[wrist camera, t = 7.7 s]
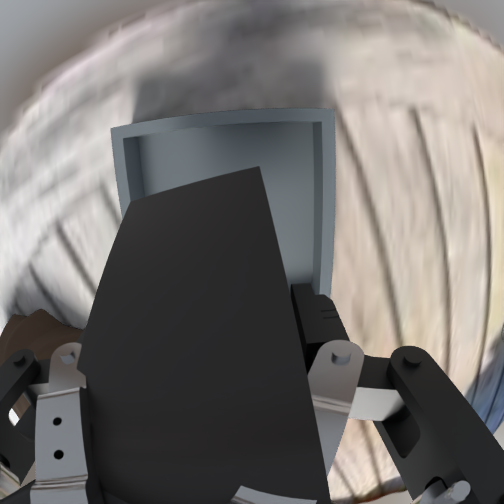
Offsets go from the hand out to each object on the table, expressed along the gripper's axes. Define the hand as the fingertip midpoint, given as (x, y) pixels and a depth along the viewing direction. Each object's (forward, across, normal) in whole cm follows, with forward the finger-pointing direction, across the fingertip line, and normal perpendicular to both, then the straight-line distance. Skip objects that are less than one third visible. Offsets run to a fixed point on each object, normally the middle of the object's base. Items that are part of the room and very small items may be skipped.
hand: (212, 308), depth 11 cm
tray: (+11, 0, 0) cm, 11 cm away
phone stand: (+3, 0, 0) cm, 3 cm away
